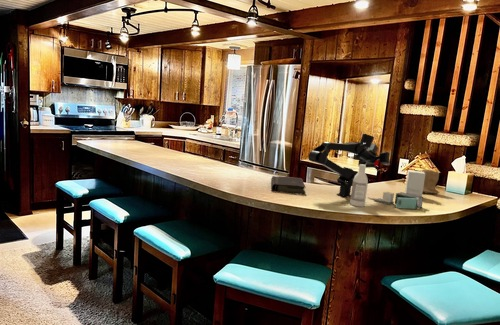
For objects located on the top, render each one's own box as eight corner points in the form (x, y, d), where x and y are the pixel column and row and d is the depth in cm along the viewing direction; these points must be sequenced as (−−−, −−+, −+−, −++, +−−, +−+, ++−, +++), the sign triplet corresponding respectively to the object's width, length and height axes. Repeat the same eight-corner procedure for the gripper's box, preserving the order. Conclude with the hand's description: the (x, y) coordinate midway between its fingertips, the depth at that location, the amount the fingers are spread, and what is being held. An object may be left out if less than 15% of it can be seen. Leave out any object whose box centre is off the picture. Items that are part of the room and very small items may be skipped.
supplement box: (420, 196, 228) (424, 171, 226) (421, 199, 219) (425, 173, 217) (404, 193, 231) (407, 169, 229) (405, 196, 222) (409, 171, 220)
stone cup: (433, 192, 249) (436, 169, 247) (441, 195, 237) (445, 172, 235) (409, 189, 249) (413, 167, 247) (417, 193, 237) (420, 169, 235)
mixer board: (388, 204, 194) (389, 202, 193) (374, 201, 199) (374, 199, 199) (393, 203, 198) (394, 201, 198) (379, 200, 203) (379, 198, 203)
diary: (270, 192, 199) (271, 183, 199) (270, 183, 224) (271, 175, 223) (306, 195, 198) (307, 186, 198) (302, 186, 223) (303, 178, 223)
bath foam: (353, 202, 190) (359, 163, 188) (366, 205, 186) (372, 165, 183) (347, 204, 185) (352, 163, 183) (360, 207, 181) (366, 166, 178)
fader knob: (389, 202, 194) (390, 193, 194) (382, 200, 197) (383, 192, 196) (392, 201, 197) (394, 193, 197) (385, 199, 200) (386, 191, 199)
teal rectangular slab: (413, 208, 190) (415, 198, 189) (416, 209, 188) (418, 199, 187) (395, 207, 188) (397, 197, 187) (398, 208, 186) (399, 198, 185)
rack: (417, 209, 189) (418, 198, 188) (393, 203, 197) (395, 193, 196) (423, 207, 195) (425, 196, 194) (400, 202, 203) (401, 191, 202)
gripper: (381, 138, 204) (398, 149, 211) (353, 145, 219) (370, 155, 226) (379, 157, 200) (396, 168, 208) (351, 162, 215) (368, 172, 222)
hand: (382, 165), depth 216 cm, fingers open, 9 cm apart
